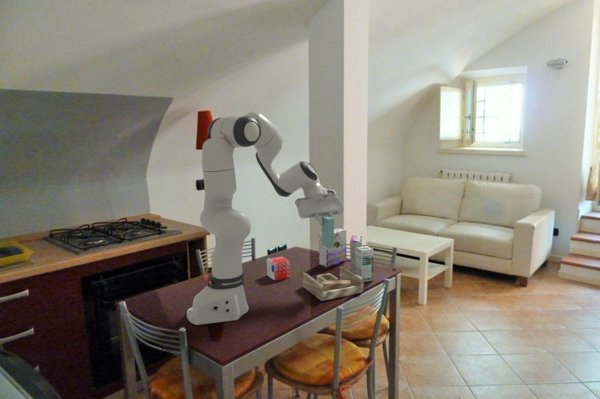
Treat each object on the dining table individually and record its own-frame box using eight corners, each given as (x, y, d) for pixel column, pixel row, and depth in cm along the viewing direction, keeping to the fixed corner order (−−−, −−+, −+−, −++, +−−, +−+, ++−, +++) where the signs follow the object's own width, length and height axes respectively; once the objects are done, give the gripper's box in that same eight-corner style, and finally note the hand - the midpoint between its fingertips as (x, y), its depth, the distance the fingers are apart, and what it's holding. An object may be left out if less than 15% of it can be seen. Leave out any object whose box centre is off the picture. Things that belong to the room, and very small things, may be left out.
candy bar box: (351, 268, 201) (351, 234, 199) (362, 268, 200) (362, 235, 198) (349, 276, 191) (349, 240, 188) (361, 276, 190) (361, 241, 187)
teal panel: (328, 247, 172) (328, 219, 170) (322, 244, 178) (321, 216, 176) (334, 247, 173) (333, 218, 171) (327, 243, 179) (326, 216, 177)
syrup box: (361, 282, 182) (361, 250, 180) (355, 278, 188) (355, 246, 185) (373, 280, 184) (373, 248, 182) (367, 276, 189) (367, 245, 187)
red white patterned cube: (290, 277, 191) (289, 260, 190) (274, 280, 187) (273, 263, 186) (282, 272, 198) (282, 256, 197) (267, 275, 194) (266, 259, 193)
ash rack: (321, 300, 164) (321, 286, 163) (302, 286, 179) (302, 273, 178) (363, 292, 171) (363, 278, 170) (342, 279, 187) (342, 266, 186)
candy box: (338, 258, 216) (338, 227, 214) (346, 261, 212) (346, 229, 209) (318, 264, 208) (318, 232, 205) (326, 267, 203) (326, 234, 200)
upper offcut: (321, 289, 170) (321, 284, 170) (320, 286, 174) (320, 280, 173) (351, 288, 170) (351, 283, 170) (349, 285, 174) (349, 280, 173)
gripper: (295, 194, 175) (306, 221, 168) (338, 190, 184) (350, 216, 177) (291, 203, 180) (301, 230, 173) (333, 199, 188) (345, 224, 181)
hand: (326, 223), depth 175 cm, fingers closed on teal panel, 2 cm apart
